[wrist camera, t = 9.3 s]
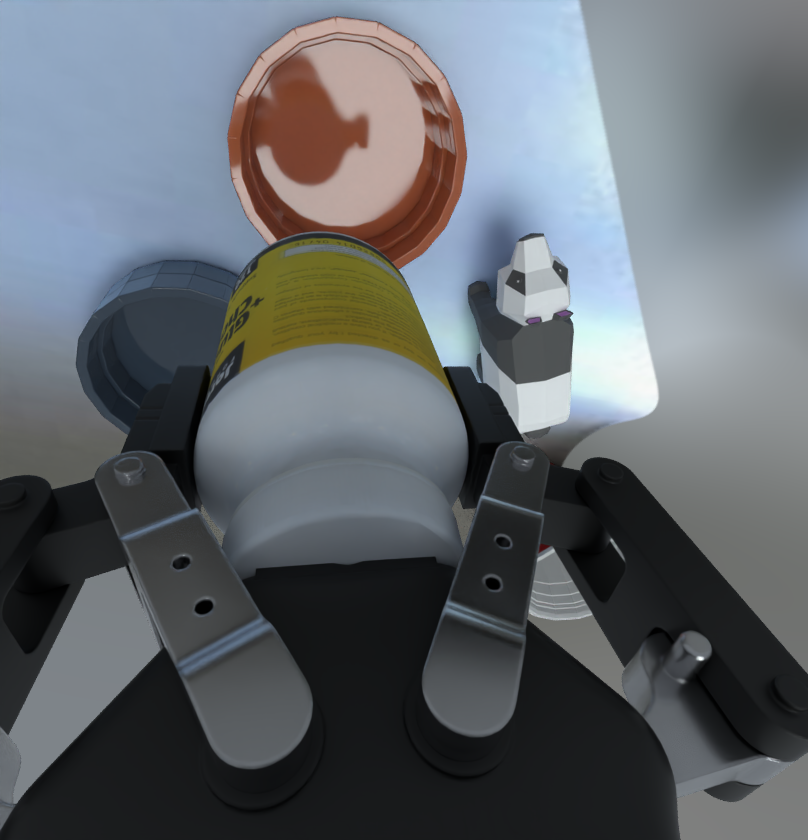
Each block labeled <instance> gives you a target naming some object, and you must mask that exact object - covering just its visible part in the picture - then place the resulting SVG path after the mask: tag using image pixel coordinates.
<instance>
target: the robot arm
mask: <svg viewBox="0 0 808 840" xmlns="http://www.w3.org/2000/svg"><path fill="white" fill-rule="evenodd" d="M443 370H444V373H445V375H446V378H447V380H448V382H449V385H450V387H451V390H452V392H453V395H454V397H455V399H456V402H457V404H458V407H459V410H460V412H461V415H462V418H463V421H464V424H465V428H466V432H467V438H468V451H469V458H468V467H467V472H466V477H465V480H464V483H463V486H462V489H461V491H460V493H459V499H460V502H461V505H462V508H463V509H469V508H476V511H475V514H474V517H473V520H472V523H471V526H470V529H469V533H468V536H467V539H466V542H465V545H464V548H463V551H462V554H461V557H460V560H459V563H458V566H457V568H455V567H452V566H448V565H445V564H440V563H437V561H436V557H435V556H433V557H417V558H400V559H384V560H369V561H362V562H359V563H355V564H351V565H343V564H336V563H325V564H310V565H296V566H282V567H269V568H256V575H255V576H252V577H249V578H246V579H244V580H241V579H240V577H239V576H238V574H237V572H236V571H235V569H234V567H233V566H232V564H231V562H230V561H229V559H228V557H227V556H226V554H225V552H224V551H223V549H222V547H221V546H220V544H219V542H218V541H217V539H216V537H215V535H214V534H213V532H212V530H211V529H210V527H209V525H208V524H207V522H206V520H205V519H204V517H203V515H202V514H201V512H200V511H201V505H202V502H201V500H200V497H199V494H198V491H197V487H196V483H195V477H194V469H193V457H194V447H195V442H196V437H197V432H198V427H199V423H200V420H201V416H202V412H203V408H204V404H205V399H206V395H207V392H208V389H209V384H210V380H211V375H210V369H209V366H208V365H178V367H177V369H176V372H175V375H174V378H173V381H172V383H158V384H157V385H155V386H154V387H153V388H152V389H151V390H150V391H148V392H147V393H146V394H145V395H144V398H143V400H142V403H141V405H140V410H138V412H137V415H136V417H135V418H136V420H134V422H133V425H132V427H131V429H130V432H129V434H128V437H127V439H126V442H125V444H124V447H123V449H122V451H121V454H119V455H116V456H114V457H112V458H110V459H108V460H107V461H105V462H104V463H103V464H101V466H100V467H99V468H98V469H97V471H96V473H95V477H94V478H93V479H91V480H88V481H85V482H81V483H77V484H73V485H69V486H65V487H61V488H57V489H53V490H52V489H51V486H50V484H49V483H48V481H46V480H45V479H43V478H41V477H38V476H32V475H21V476H14V477H10V478H6V479H3V480H0V840H680V833H679V826H678V811H677V798H679V797H682V796H685V795H689V794H692V793H695V792H698V791H701V790H704V791H705V792H707V793H708V794H710V795H711V796H713V797H715V798H718V799H720V800H723V801H728V802H735V801H739V800H742V799H743V798H744V797H746V796H747V795H749V794H750V793H752V792H753V791H754V790H756V789H757V788H758V787H760V786H761V785H763V784H764V783H765V782H767V781H768V780H770V779H771V778H772V777H774V776H775V775H777V774H778V773H779V772H781V771H782V770H784V769H785V768H786V767H788V766H789V765H790V764H792V763H793V762H795V761H796V760H798V759H799V758H800V757H802V756H803V755H804V754H806V753H807V752H808V674H807V673H806V672H805V671H804V669H803V668H802V667H801V666H800V665H799V664H798V662H797V661H796V660H795V659H794V658H793V657H792V656H791V654H790V653H789V652H788V651H787V650H786V649H785V647H784V646H783V645H782V644H781V643H780V642H779V641H778V639H777V638H776V637H775V636H774V635H773V634H772V633H771V631H770V630H769V629H768V628H767V627H766V626H765V624H764V623H763V622H762V621H761V620H760V619H759V618H758V616H757V615H756V614H755V613H754V612H753V611H752V610H751V608H750V607H749V606H748V605H747V604H746V603H745V601H744V600H743V599H742V598H741V597H740V596H739V594H738V593H737V592H736V591H735V590H734V589H733V588H732V586H731V585H730V584H729V583H728V582H727V581H726V580H725V578H724V577H723V576H722V575H721V574H720V573H719V571H718V570H717V569H716V568H715V567H714V566H713V565H712V563H711V562H710V561H709V560H708V559H707V558H706V557H705V555H704V554H703V553H702V552H701V551H700V550H699V548H698V547H697V546H696V545H695V544H694V543H693V541H692V540H691V539H690V538H689V537H688V536H687V535H686V533H685V532H684V531H683V530H682V529H681V528H680V527H679V526H678V524H677V523H676V522H675V521H674V520H673V518H672V517H671V516H670V515H669V514H668V513H667V512H666V510H665V509H664V508H663V507H662V506H661V505H660V504H659V502H658V501H657V500H656V499H655V498H654V497H653V495H652V494H651V493H650V492H649V491H648V490H647V489H646V487H645V486H644V485H643V484H642V483H641V482H640V480H639V479H638V478H637V477H636V476H635V475H634V474H633V472H631V470H629V469H628V468H627V467H626V466H624V465H622V464H621V463H619V462H617V461H614V460H611V459H607V458H600V457H597V458H590V459H588V460H586V461H585V462H584V463H583V465H582V467H581V470H580V471H579V470H574V469H569V468H564V467H559V466H555V465H552V464H550V463H549V459H548V457H547V456H546V454H545V453H544V452H543V451H541V450H540V449H539V448H537V447H535V446H533V445H531V444H528V443H525V442H524V440H523V438H522V436H521V434H520V433H519V431H518V429H517V427H516V425H515V423H514V421H513V420H512V418H511V416H510V415H509V412H508V410H507V409H506V407H505V406H504V403H503V401H502V399H501V397H500V396H499V394H498V392H496V391H495V390H494V389H493V388H492V387H490V386H489V385H488V384H487V383H478V382H477V380H476V378H475V376H474V374H473V372H472V370H471V368H470V367H444V368H443ZM611 538H612V540H613V541H614V542H615V544H616V545H617V547H618V548H619V549H620V551H621V552H622V554H623V557H624V560H625V561H624V560H623V559H622V557H621V556H620V554H619V553H618V551H617V550H616V549H615V547H614V546H613V544H612V543H611V542H610V540H611ZM540 544H544V545H549V546H553V548H554V550H555V552H556V554H557V555H558V557H559V559H560V560H561V562H562V564H563V565H564V567H565V569H566V570H567V572H568V574H569V575H570V577H571V579H572V580H573V582H574V584H575V585H576V587H577V589H578V590H579V592H580V594H581V596H582V597H583V599H584V601H585V602H586V604H587V606H588V607H589V609H590V611H591V612H592V614H593V615H594V617H595V619H596V620H597V622H598V624H599V626H600V627H601V629H602V631H603V632H604V634H605V636H606V637H607V639H608V641H609V642H610V644H611V646H612V648H613V649H614V651H615V652H616V654H617V656H618V658H619V659H620V661H621V663H622V664H623V666H624V668H625V669H624V671H623V674H622V686H623V689H624V693H625V695H626V698H627V700H628V702H627V701H626V700H625V699H624V698H623V697H622V696H620V695H619V694H618V693H616V692H615V691H614V690H613V689H612V688H611V687H609V686H608V685H607V684H606V683H604V682H603V681H602V680H601V679H600V678H598V677H597V676H596V675H595V674H593V673H592V672H591V671H590V670H589V669H587V668H586V667H585V666H584V665H583V664H581V663H580V662H579V661H578V660H576V659H575V658H574V657H573V656H571V655H570V654H569V653H568V652H567V651H565V650H564V649H563V648H562V647H560V646H559V645H558V644H557V643H556V642H554V641H553V640H552V639H551V638H550V637H548V636H547V635H546V634H545V633H543V632H542V631H541V630H540V629H539V628H537V627H536V626H535V625H534V624H532V623H531V622H530V621H529V620H528V619H527V618H528V612H529V606H530V600H531V594H532V588H533V583H534V577H535V571H536V565H537V559H538V553H539V547H540ZM121 567H126V570H127V572H128V575H129V577H130V580H131V582H132V584H133V587H134V589H135V591H136V594H137V596H138V599H139V601H140V604H141V606H142V608H143V611H144V613H145V616H146V618H147V621H148V623H149V625H150V628H151V631H152V633H153V636H154V639H155V641H156V644H157V646H158V649H159V653H158V654H157V655H156V656H155V657H154V658H153V659H152V660H151V661H150V662H149V663H148V664H147V665H146V666H145V667H144V668H143V669H142V670H141V671H140V672H139V673H138V674H137V676H136V677H135V678H134V679H133V680H132V681H131V682H130V683H129V684H128V685H127V686H126V687H125V688H124V689H123V690H122V691H121V692H120V693H119V694H118V696H116V697H115V698H114V699H113V700H112V702H111V703H110V704H109V705H108V706H107V707H106V708H105V709H104V710H103V711H102V712H101V713H100V714H99V715H98V716H97V717H96V718H95V719H94V720H93V721H92V722H91V723H90V724H89V726H88V727H87V728H86V729H85V730H84V731H83V732H82V733H81V734H80V735H79V736H78V737H77V738H76V739H75V740H74V741H73V742H72V743H71V744H70V745H69V746H68V747H67V748H66V749H65V751H64V752H63V753H62V754H61V755H60V756H59V757H58V758H57V759H56V760H55V761H54V762H53V763H52V764H51V765H50V766H49V767H48V768H47V769H46V770H45V771H44V772H43V773H42V775H41V776H40V777H39V778H38V779H37V780H36V781H35V782H34V783H33V784H32V786H30V787H29V789H28V790H27V791H26V792H25V793H24V795H23V796H22V797H21V799H20V800H19V801H18V803H17V804H13V793H14V787H15V783H16V780H17V777H18V774H19V770H20V764H21V757H20V753H19V750H18V748H17V746H16V745H15V743H14V742H13V741H12V740H11V739H10V737H9V736H8V734H9V733H10V731H11V729H12V727H13V724H14V722H15V721H16V719H17V717H18V715H19V712H20V710H21V708H22V706H23V704H24V702H25V700H26V698H27V696H28V694H29V692H30V690H31V688H32V686H33V684H34V682H35V680H36V678H37V676H38V674H39V672H40V670H41V668H42V666H43V664H44V662H45V660H46V658H47V656H48V654H49V652H50V650H51V648H52V646H53V644H54V642H55V640H56V638H57V636H58V634H59V632H60V630H61V628H62V626H63V624H64V622H65V620H66V618H67V616H68V614H69V612H70V610H71V608H72V606H73V604H74V602H75V600H76V598H77V595H78V594H79V592H80V589H81V588H82V585H83V583H84V581H85V579H86V578H90V577H93V576H96V575H99V574H102V573H106V572H109V571H111V570H115V569H118V568H121Z"/></svg>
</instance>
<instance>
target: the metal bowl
mask: <svg viewBox="0 0 808 840" xmlns="http://www.w3.org/2000/svg"><path fill="white" fill-rule="evenodd" d="M237 280H238V277H237V276H235V275H233V274H232V273H229V272H228V271H225V270H222V269H218V268H215V267H212V266H209V265H206V264H203V263H200V262H199V263H198V262H189V261H163V262H159V263H156V264H152V265H149V266H145V267H141V268H138V269H136V270H134V271H132V272H131V273H129V274H128V275H127V276H125V277H124V278H122V279H121V280H120V281H118V282H117V283H116V284H114V285H113V286H112V287H111V289H110V290H109V292H108V293H107V294H106V296H105V297H104V299H103V300H102V302H101V303H100V304H99V306H98V307H97V309H96V310H95V312H94V313H93V314H92V316H91V318H90V319H89V321H88V323H87V324H86V326H85V328H84V330H83V331H82V333H81V335H80V336H79V339H78V347H77V358H76V368H77V371H78V374H79V377H80V380H81V383H82V387H83V390H84V392H85V394H86V395H87V397H88V398H89V399H90V400H91V402H92V403H93V404H94V406H95V407H96V408H97V410H98V411H99V412H100V414H101V415H102V416H103V417H104V418H106V419H107V420H108V421H110V422H111V423H112V424H114V425H115V426H116V427H118V428H119V429H120V430H121V431H123V432H124V433H125V434H127V435H128V434H129V432H130V429H131V427H132V425H133V422H134V420H136V418H135V417H136V415H137V412H138V410H140V405H141V403H142V400H143V398H144V395H145V394H146V393H147V392H148V391H150V390H151V389H152V388H153V387H154V386H155V385H157V384H158V383H172V381H173V378H174V375H175V372H176V369H177V367H178V365H208V366H209V369H210V375H211V376H212V372H213V368H214V364H215V360H216V355H217V351H218V347H219V342H220V338H221V334H222V330H223V326H224V322H225V317H226V313H227V309H228V304H229V300H230V297H231V294H232V291H233V288H234V285H235V283H236V281H237Z"/></svg>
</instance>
